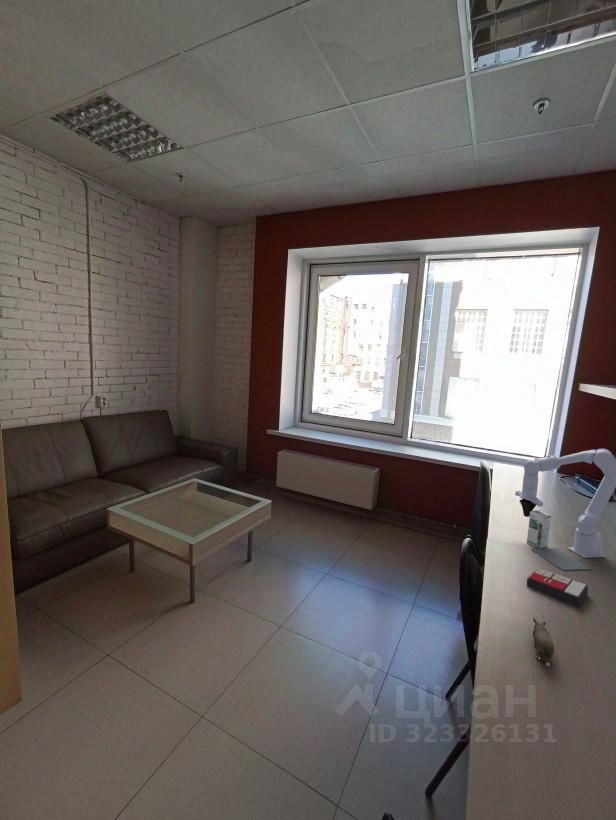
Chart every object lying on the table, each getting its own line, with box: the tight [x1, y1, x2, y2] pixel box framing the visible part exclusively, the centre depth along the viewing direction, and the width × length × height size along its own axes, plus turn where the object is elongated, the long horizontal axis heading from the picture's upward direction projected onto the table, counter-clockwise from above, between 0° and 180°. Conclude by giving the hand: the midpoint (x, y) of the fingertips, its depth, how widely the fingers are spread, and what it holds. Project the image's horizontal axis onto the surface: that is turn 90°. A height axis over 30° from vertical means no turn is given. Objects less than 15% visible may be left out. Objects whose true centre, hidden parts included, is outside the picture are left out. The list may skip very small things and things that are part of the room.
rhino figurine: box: [532, 617, 555, 664], centre depth 97 cm, size 4×14×6 cm, turn 156°
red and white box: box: [526, 567, 589, 609], centre depth 124 cm, size 11×4×15 cm
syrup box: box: [526, 509, 552, 549], centre depth 156 cm, size 6×6×14 cm
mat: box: [531, 547, 592, 572], centre depth 145 cm, size 12×16×1 cm
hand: (526, 516), depth 163 cm, fingers closed
